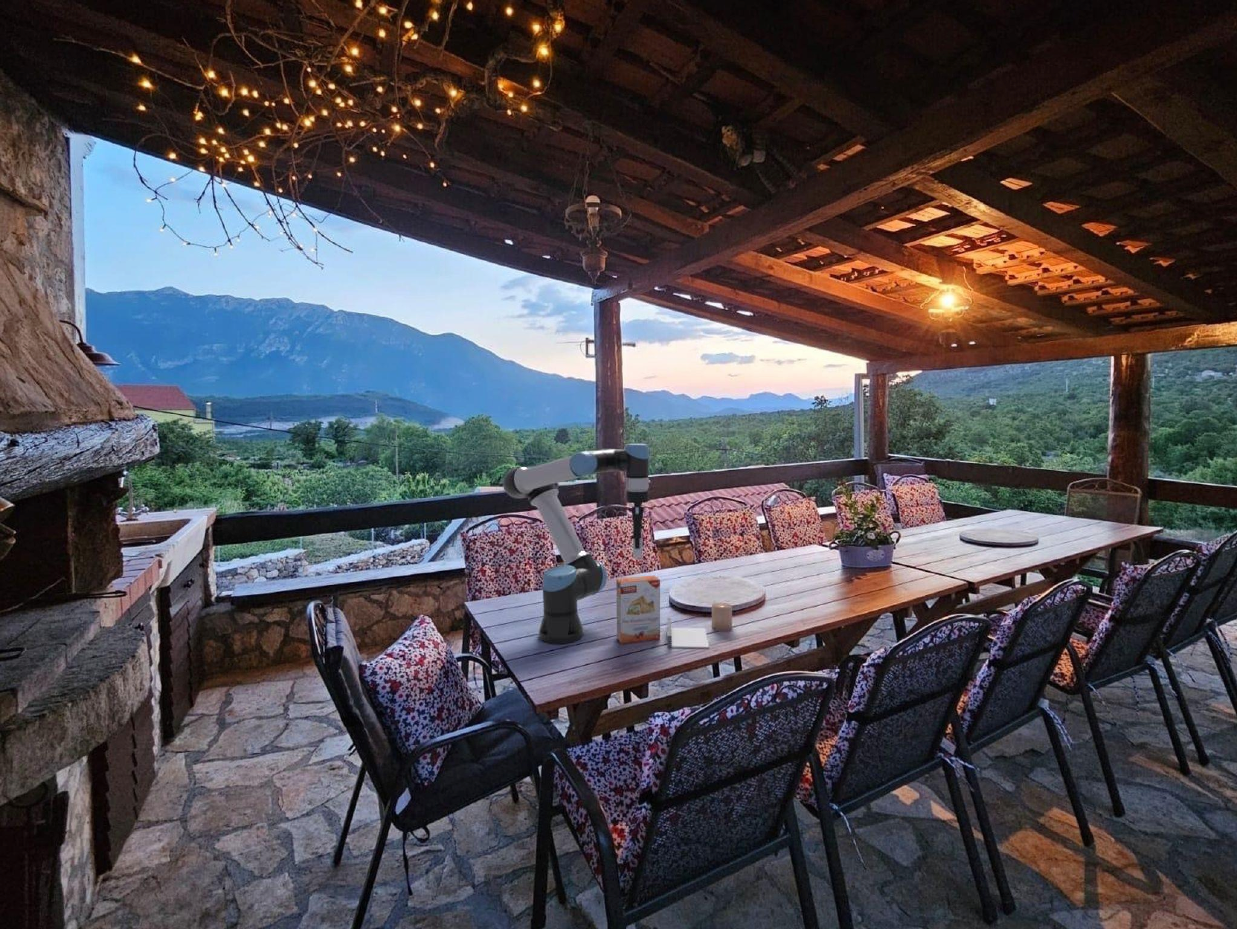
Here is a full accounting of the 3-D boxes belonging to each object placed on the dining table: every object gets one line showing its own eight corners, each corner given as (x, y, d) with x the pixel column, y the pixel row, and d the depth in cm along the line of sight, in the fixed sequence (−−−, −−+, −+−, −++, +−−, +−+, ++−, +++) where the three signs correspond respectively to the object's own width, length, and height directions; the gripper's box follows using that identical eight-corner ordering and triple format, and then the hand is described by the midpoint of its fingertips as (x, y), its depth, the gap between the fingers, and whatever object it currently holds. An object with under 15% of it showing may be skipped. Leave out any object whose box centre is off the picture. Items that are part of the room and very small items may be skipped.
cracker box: (621, 644, 182) (620, 583, 181) (616, 638, 188) (615, 578, 186) (661, 639, 186) (660, 579, 184) (655, 633, 192) (654, 574, 190)
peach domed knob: (712, 631, 192) (712, 609, 192) (711, 624, 199) (710, 602, 199) (733, 631, 192) (733, 609, 191) (730, 624, 199) (730, 602, 198)
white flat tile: (667, 647, 179) (667, 635, 179) (667, 629, 195) (667, 618, 195) (708, 648, 178) (708, 636, 178) (705, 629, 194) (705, 618, 194)
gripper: (648, 495, 171) (648, 562, 172) (649, 485, 195) (649, 544, 197) (624, 495, 171) (625, 562, 173) (627, 485, 196) (628, 544, 198)
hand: (638, 553), depth 185 cm, fingers open, 13 cm apart
